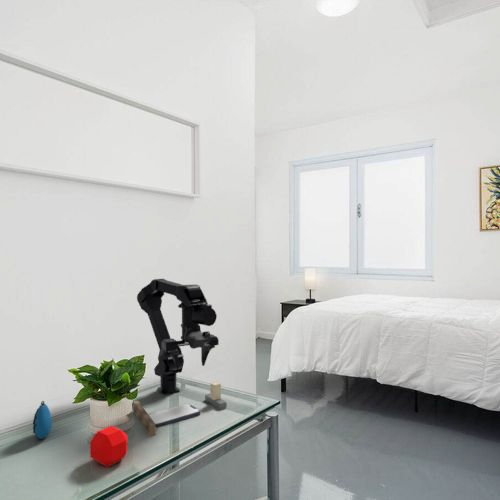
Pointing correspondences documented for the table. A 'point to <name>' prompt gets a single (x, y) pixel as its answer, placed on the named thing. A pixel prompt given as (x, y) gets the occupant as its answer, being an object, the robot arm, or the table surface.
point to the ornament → (42, 421)
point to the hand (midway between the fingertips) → (190, 367)
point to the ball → (109, 446)
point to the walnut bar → (144, 418)
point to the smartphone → (174, 414)
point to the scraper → (215, 396)
